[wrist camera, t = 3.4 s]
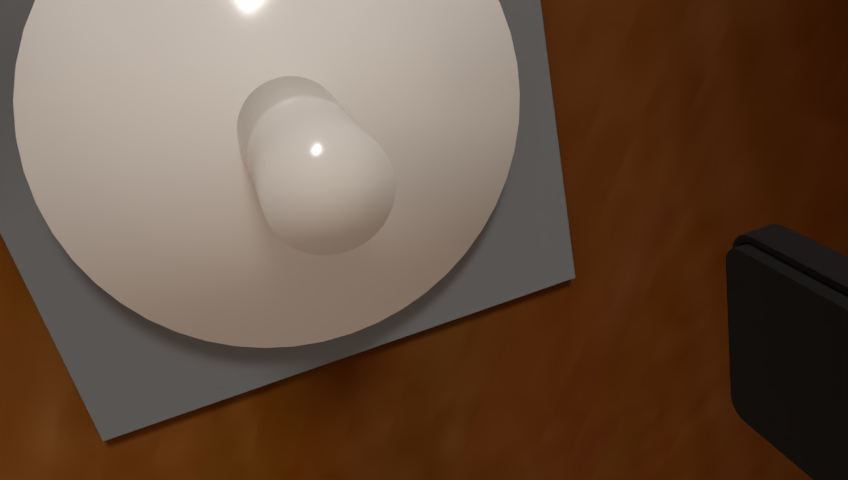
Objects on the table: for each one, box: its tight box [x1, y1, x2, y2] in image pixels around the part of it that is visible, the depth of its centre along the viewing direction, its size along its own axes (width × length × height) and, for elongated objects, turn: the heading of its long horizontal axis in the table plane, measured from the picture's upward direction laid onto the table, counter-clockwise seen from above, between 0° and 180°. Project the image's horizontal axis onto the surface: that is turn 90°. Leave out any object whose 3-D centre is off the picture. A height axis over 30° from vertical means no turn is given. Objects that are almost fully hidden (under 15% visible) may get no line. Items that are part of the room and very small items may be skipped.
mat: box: [0, 0, 575, 441], centre depth 25 cm, size 18×18×1 cm
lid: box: [13, 0, 520, 348], centre depth 21 cm, size 15×15×7 cm
